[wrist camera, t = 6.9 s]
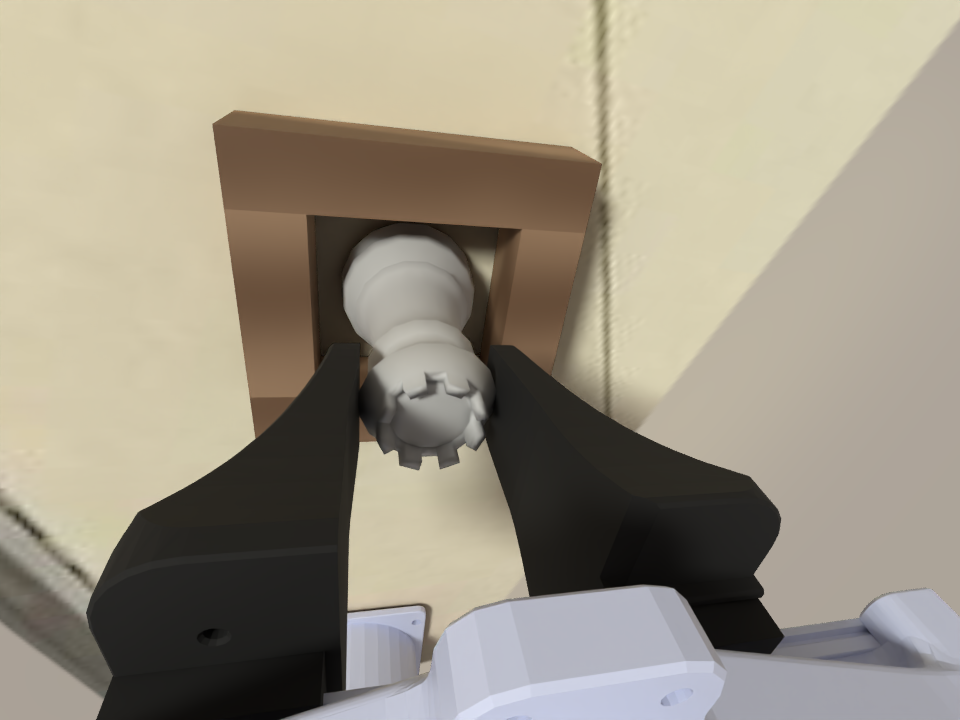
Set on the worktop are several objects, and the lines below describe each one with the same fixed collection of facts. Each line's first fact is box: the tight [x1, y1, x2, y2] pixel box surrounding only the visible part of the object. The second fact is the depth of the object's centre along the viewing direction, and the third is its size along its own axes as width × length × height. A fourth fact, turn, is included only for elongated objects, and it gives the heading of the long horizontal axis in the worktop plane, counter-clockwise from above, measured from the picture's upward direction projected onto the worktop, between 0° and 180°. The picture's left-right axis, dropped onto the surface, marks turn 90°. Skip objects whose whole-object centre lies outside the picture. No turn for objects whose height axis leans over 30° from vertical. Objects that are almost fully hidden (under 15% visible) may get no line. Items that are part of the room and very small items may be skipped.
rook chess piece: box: [342, 223, 496, 470], centre depth 14 cm, size 4×4×8 cm
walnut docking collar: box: [213, 110, 602, 442], centre depth 17 cm, size 10×10×2 cm
